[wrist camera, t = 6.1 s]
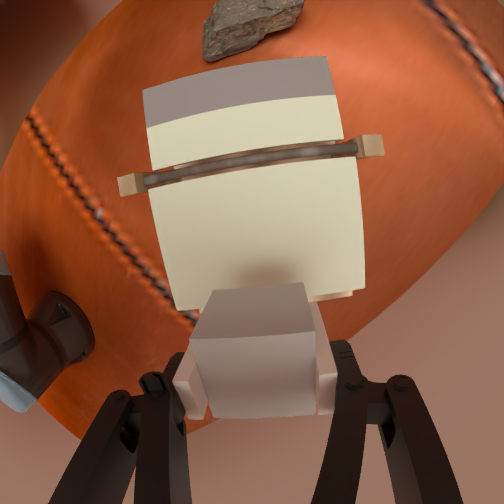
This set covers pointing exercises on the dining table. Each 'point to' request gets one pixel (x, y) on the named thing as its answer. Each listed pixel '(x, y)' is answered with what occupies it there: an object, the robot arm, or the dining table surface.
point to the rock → (245, 24)
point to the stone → (257, 352)
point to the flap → (254, 183)
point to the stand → (254, 159)
